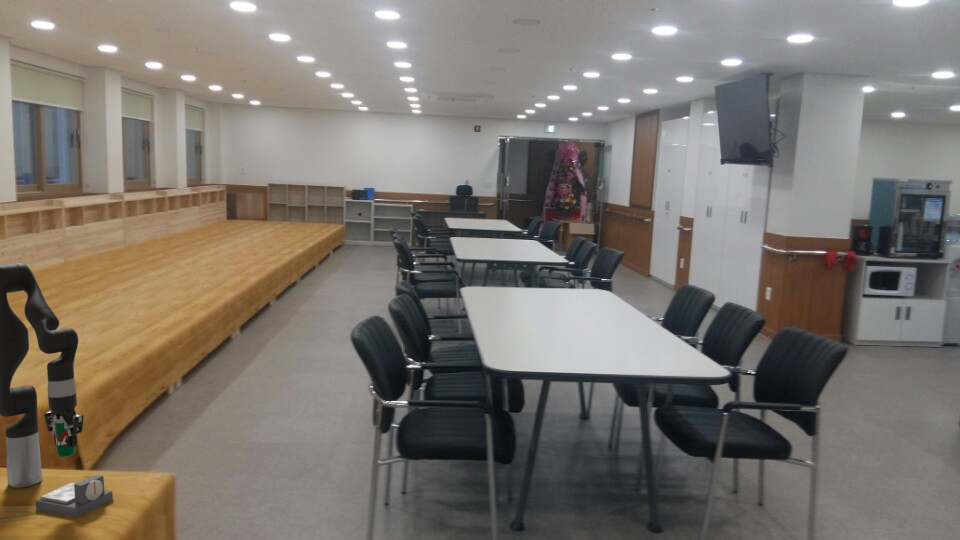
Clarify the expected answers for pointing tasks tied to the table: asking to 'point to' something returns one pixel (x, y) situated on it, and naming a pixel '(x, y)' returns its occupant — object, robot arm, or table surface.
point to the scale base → (80, 498)
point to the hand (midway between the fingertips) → (65, 445)
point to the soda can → (63, 439)
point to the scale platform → (61, 495)
